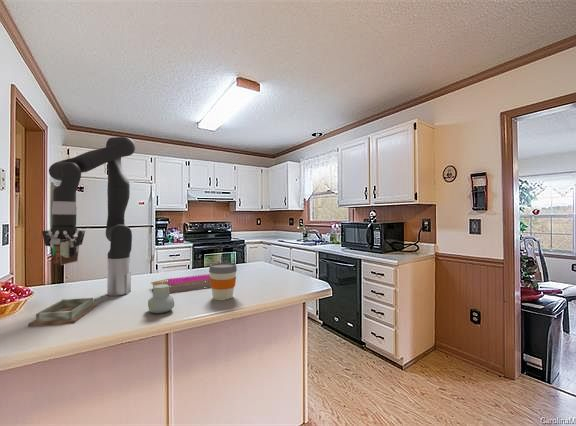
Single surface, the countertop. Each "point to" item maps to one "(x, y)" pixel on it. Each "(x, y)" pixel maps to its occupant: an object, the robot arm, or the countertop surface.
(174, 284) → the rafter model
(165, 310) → the pale grey rounded vessel
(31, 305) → the countertop surface
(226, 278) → the reusable coffee cup
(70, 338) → the countertop surface
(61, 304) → the holder
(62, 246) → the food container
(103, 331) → the countertop surface
